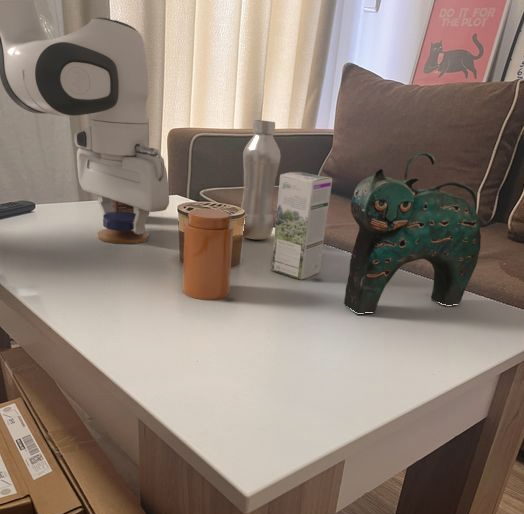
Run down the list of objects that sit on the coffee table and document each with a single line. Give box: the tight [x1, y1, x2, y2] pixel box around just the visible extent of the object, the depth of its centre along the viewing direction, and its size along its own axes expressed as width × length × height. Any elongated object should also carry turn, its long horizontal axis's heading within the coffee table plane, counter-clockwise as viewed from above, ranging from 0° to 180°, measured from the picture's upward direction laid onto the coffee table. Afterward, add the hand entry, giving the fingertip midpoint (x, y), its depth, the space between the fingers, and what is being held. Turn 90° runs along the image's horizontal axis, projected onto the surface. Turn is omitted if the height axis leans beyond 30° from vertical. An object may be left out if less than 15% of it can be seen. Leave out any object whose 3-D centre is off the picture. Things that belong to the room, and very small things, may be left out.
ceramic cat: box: [343, 151, 482, 313], centre depth 68 cm, size 20×6×20 cm, turn 112°
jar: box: [182, 208, 234, 301], centre depth 68 cm, size 6×6×10 cm
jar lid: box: [102, 212, 136, 231], centre depth 89 cm, size 6×6×2 cm
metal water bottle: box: [240, 119, 282, 241], centre depth 92 cm, size 6×7×20 cm
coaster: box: [97, 228, 149, 245], centre depth 90 cm, size 8×8×1 cm
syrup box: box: [270, 171, 333, 280], centre depth 78 cm, size 6×6×14 cm
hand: (123, 227), depth 89 cm, fingers closed on jar lid, 6 cm apart
